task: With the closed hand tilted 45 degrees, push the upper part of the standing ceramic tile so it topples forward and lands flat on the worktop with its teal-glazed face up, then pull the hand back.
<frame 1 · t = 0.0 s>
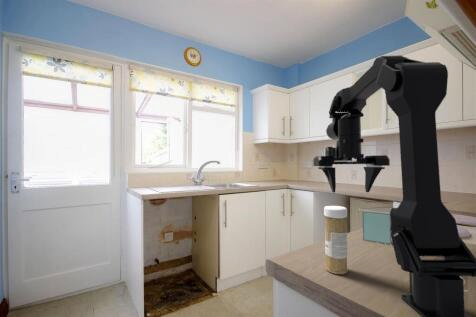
hand: (350, 192, 64), 15 cm above the counter, fingers open, 9 cm apart
sprinkles bottle: (336, 271, 49), on the counter
pottery shard: (410, 235, 75), on the counter
tile: (377, 241, 67), on the counter
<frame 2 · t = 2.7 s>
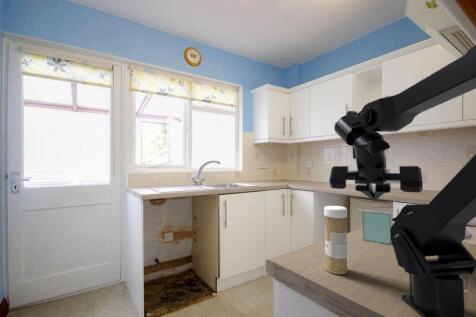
hand: (374, 199, 60), 13 cm above the counter, fingers closed
nothing on the counter moved.
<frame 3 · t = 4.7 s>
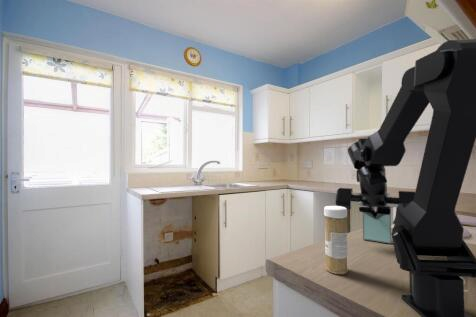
hand: (375, 217, 67), 7 cm above the counter, fingers closed
tile: (377, 240, 67), on the counter, tilted 7°
everything else where it was.
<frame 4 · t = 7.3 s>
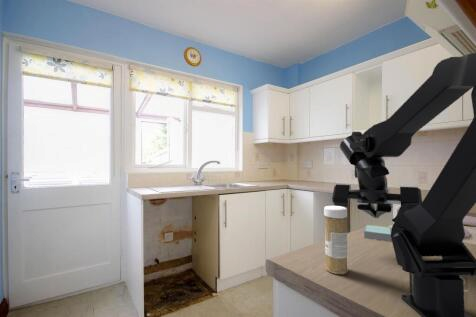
hand: (376, 216, 62), 8 cm above the counter, fingers closed
tile: (377, 237, 68), point 1 cm above the counter, tilted 90°
everything else where it was.
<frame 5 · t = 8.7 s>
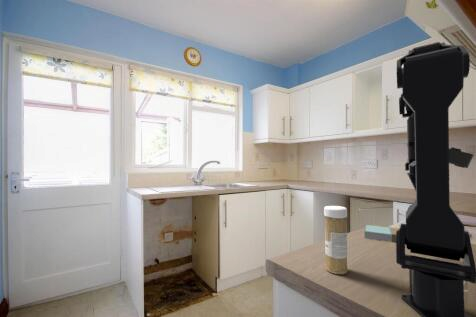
hand: (424, 202, 56), 13 cm above the counter, fingers closed
nothing on the counter moved.
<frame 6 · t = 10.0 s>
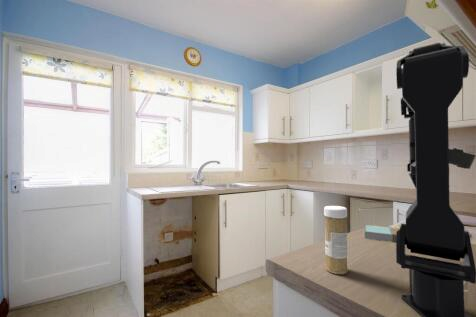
hand: (425, 203, 55), 13 cm above the counter, fingers closed
nothing on the counter moved.
at the end: tile tilted 90°; tile inside the target area (3.2 cm from its centre), point 0.8 cm above the counter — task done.
